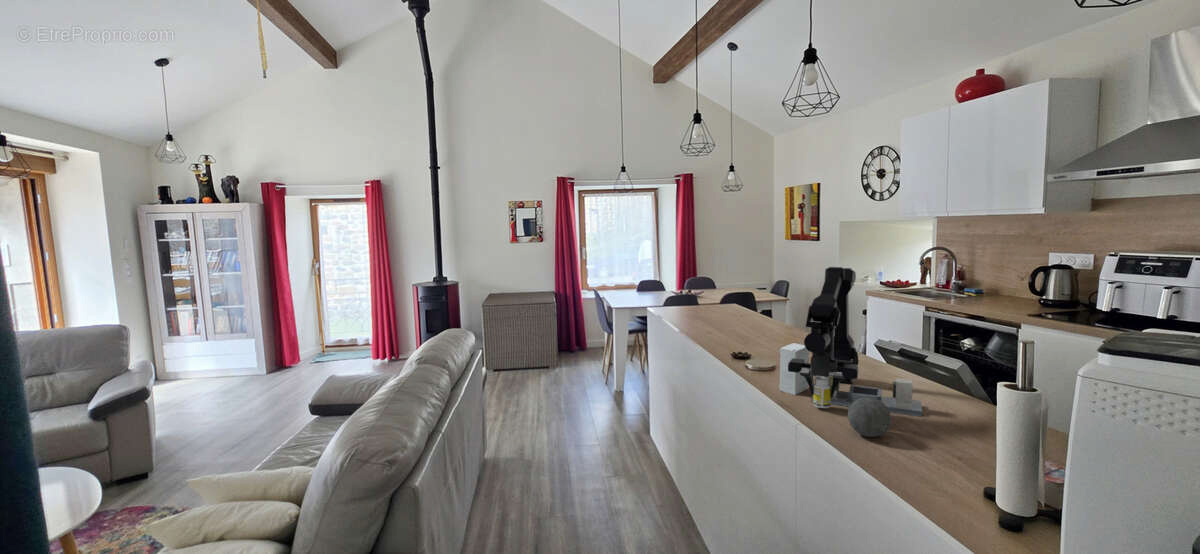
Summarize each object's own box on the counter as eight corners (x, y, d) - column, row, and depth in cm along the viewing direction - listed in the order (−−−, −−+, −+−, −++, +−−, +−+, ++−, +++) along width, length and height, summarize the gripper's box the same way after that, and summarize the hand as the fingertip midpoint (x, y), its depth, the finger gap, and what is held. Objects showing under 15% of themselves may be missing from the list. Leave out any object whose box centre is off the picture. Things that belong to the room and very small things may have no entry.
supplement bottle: (830, 403, 157) (831, 376, 156) (830, 409, 153) (831, 381, 152) (813, 401, 159) (814, 375, 158) (812, 407, 155) (813, 379, 154)
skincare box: (792, 385, 177) (793, 342, 175) (809, 389, 173) (810, 345, 171) (778, 391, 172) (779, 347, 170) (795, 395, 167) (796, 350, 166)
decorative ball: (878, 447, 130) (879, 408, 129) (839, 434, 138) (840, 397, 137) (897, 436, 136) (899, 399, 135) (859, 424, 144) (860, 389, 143)
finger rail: (815, 392, 170) (815, 366, 168) (920, 406, 155) (921, 378, 154) (811, 401, 162) (811, 374, 161) (921, 416, 148) (923, 387, 146)
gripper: (784, 348, 151) (784, 400, 153) (856, 355, 142) (855, 410, 144) (791, 339, 161) (791, 388, 163) (859, 345, 152) (857, 397, 154)
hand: (822, 396), depth 156 cm, fingers closed on supplement bottle, 5 cm apart
